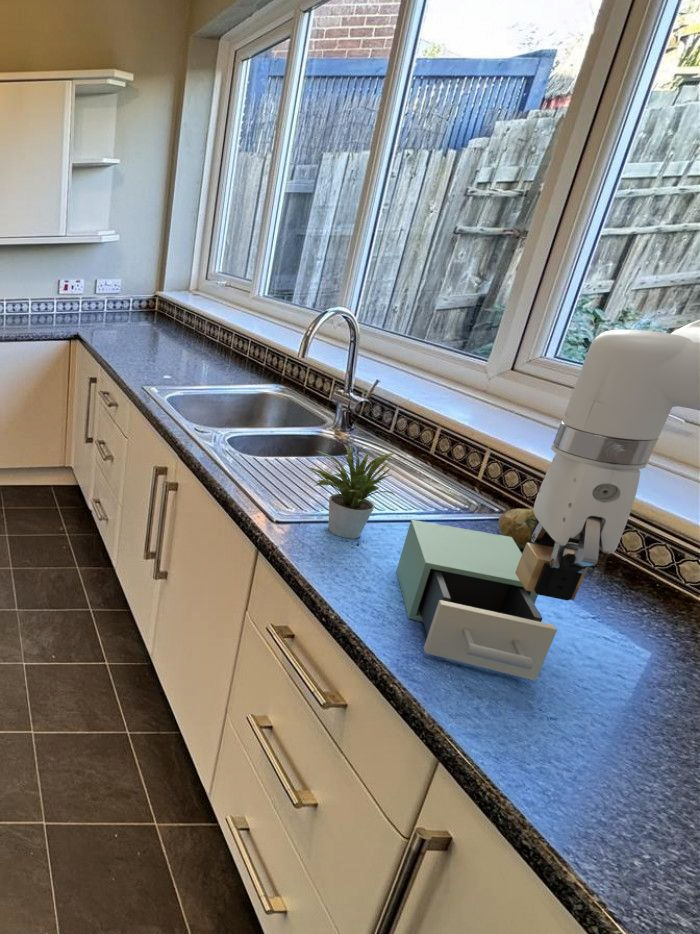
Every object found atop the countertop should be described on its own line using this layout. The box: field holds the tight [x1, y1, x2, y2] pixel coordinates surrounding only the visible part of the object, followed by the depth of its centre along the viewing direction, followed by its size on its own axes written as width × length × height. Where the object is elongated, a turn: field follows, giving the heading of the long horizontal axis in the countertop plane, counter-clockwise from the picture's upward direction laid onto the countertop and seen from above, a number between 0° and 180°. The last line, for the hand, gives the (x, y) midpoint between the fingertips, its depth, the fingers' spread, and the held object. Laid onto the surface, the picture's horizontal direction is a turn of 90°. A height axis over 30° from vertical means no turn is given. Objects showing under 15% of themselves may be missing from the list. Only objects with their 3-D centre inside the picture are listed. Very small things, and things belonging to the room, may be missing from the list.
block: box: [515, 543, 589, 601], centre depth 74 cm, size 4×4×4 cm
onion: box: [497, 508, 538, 550], centre depth 108 cm, size 8×8×8 cm
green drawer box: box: [396, 519, 539, 623], centre depth 92 cm, size 15×13×10 cm
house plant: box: [308, 444, 396, 540], centre depth 113 cm, size 14×14×16 cm
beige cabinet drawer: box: [419, 569, 558, 682], centre depth 82 cm, size 18×11×8 cm, turn 152°
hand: (544, 583), depth 74 cm, fingers closed on block, 4 cm apart
